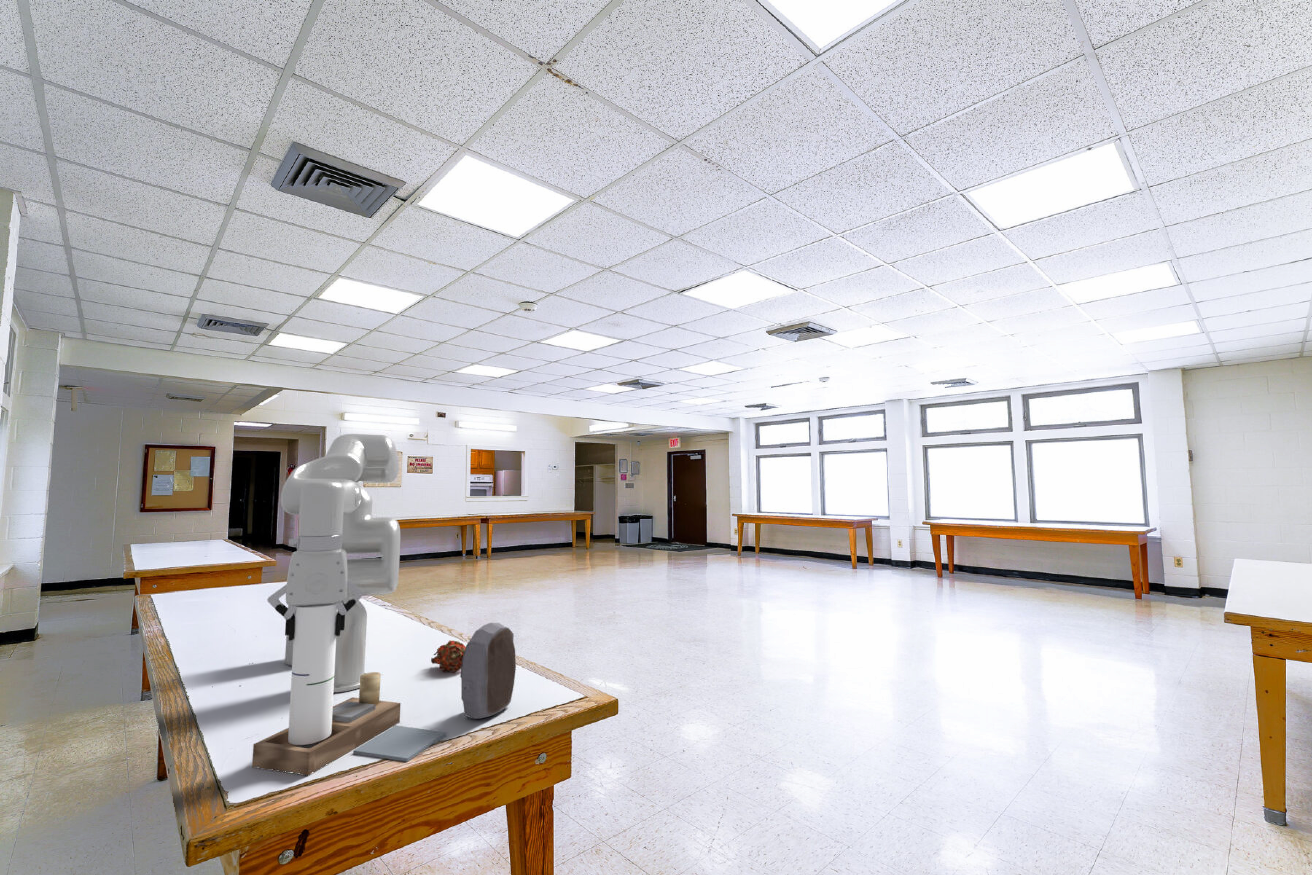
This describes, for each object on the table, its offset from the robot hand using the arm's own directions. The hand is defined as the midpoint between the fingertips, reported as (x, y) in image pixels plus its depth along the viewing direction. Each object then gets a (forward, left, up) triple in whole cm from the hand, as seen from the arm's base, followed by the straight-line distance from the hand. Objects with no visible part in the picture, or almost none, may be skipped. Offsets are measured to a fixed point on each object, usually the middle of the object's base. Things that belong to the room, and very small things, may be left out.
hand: (315, 635), depth 112 cm
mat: (+14, +9, -22) cm, 27 cm away
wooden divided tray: (0, +6, -22) cm, 23 cm away
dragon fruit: (-4, +52, -22) cm, 56 cm away
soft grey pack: (+21, +28, -22) cm, 41 cm away
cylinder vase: (-47, +48, -22) cm, 70 cm away
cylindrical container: (0, 0, -19) cm, 19 cm away
